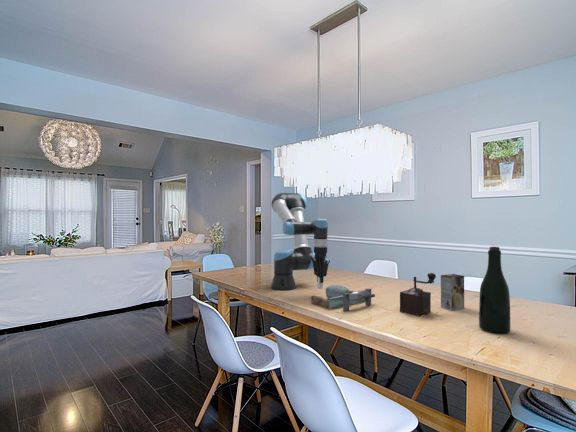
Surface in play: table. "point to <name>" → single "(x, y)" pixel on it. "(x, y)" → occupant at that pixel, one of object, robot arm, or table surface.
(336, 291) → the grey rounded barrel
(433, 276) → the manual coffee grinder
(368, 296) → the grey clamp
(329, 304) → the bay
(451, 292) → the coffee box
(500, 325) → the dark green wine bottle
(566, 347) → the table surface
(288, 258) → the robot arm
